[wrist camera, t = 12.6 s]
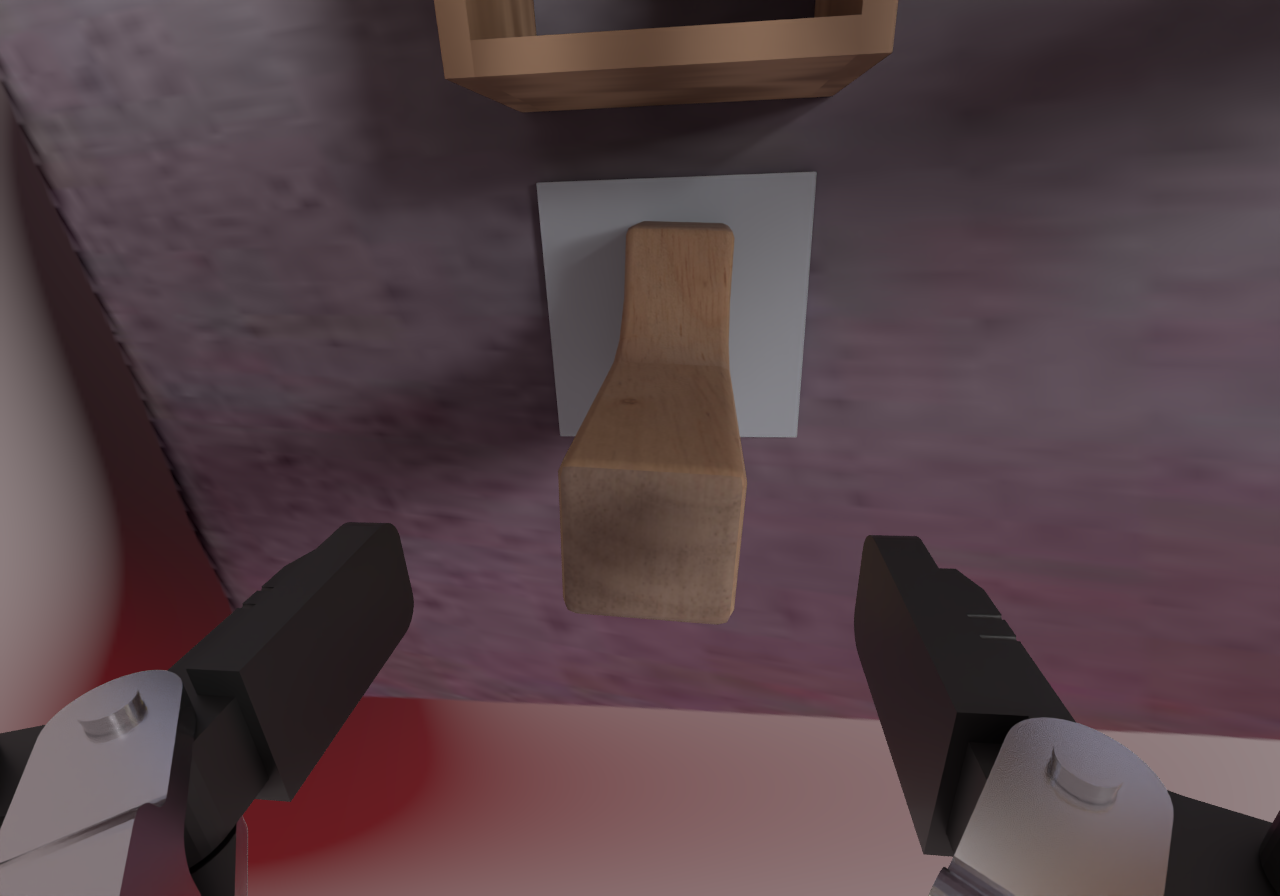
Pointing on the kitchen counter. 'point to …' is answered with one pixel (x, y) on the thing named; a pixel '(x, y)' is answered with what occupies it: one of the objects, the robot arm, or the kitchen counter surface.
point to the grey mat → (760, 289)
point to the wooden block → (660, 443)
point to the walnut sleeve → (659, 57)
